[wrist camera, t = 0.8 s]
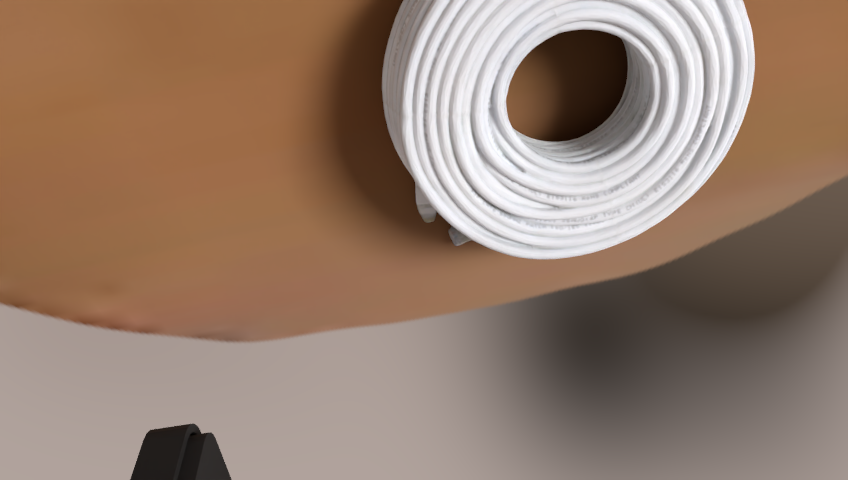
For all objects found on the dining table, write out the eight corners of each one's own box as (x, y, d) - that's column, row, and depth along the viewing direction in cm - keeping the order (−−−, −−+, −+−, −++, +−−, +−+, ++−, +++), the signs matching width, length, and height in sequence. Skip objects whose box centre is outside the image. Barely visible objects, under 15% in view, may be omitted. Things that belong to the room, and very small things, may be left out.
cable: (429, 248, 43) (439, 308, 38) (333, -57, 34) (330, -33, 29) (722, 168, 42) (774, 219, 36) (703, -169, 33) (768, -165, 28)
